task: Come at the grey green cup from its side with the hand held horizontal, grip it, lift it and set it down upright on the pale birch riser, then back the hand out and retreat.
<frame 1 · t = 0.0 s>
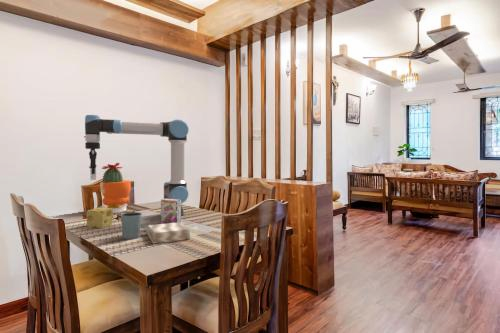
hand: (93, 178, 180), 28 cm above the table, tool pointing down, fingers open, 13 cm apart
candy bar box: (171, 227, 182), on the table
potted cactus: (116, 210, 228), on the table
grey green cup: (131, 237, 161), on the table
cheese: (99, 226, 183), on the table
riser: (168, 236, 162), on the table
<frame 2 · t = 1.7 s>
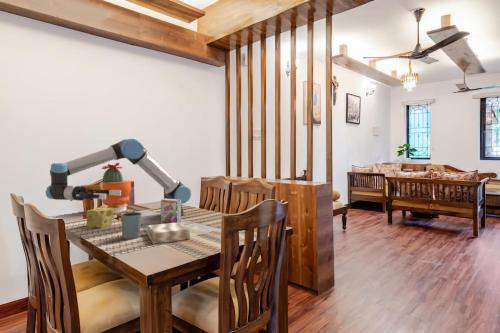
hand: (113, 194, 161), 22 cm above the table, tool horizontal, fingers open, 13 cm apart
nothing on the table moved.
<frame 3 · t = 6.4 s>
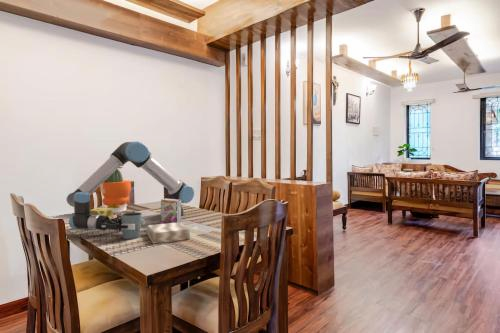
hand: (139, 224, 160), 7 cm above the table, tool horizontal, fingers closed on grey green cup, 9 cm apart
grey green cup: (131, 236, 161), on the table, touching gripper
everything else where it was.
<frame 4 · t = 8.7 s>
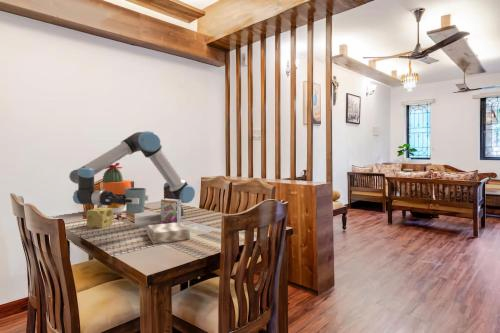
hand: (143, 199, 159), 20 cm above the table, tool horizontal, fingers closed on grey green cup, 9 cm apart
grey green cup: (135, 212, 160), point 13 cm above the table, touching gripper
everything else where it was.
when the fingers open (13 cm above the table, at t = 11.5 s): grey green cup drops 1 cm, resting on riser.
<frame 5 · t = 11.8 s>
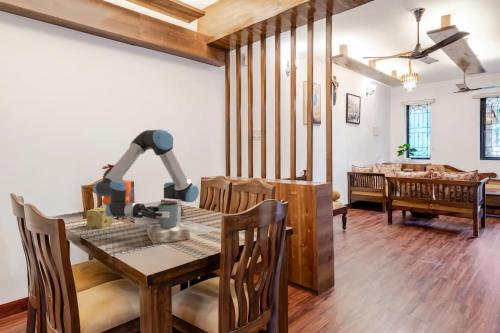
hand: (174, 212, 161), 13 cm above the table, tool horizontal, fingers open, 13 cm apart
grey green cup: (168, 226, 164), point 5 cm above the table, touching gripper, riser
everything else where it was.
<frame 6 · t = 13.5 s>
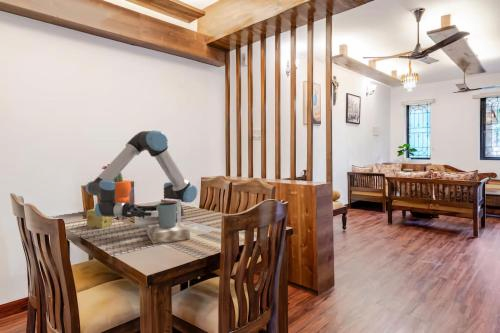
hand: (163, 211, 161), 13 cm above the table, tool horizontal, fingers open, 13 cm apart
grey green cup: (167, 226, 164), point 5 cm above the table, touching riser
everything else where it was.
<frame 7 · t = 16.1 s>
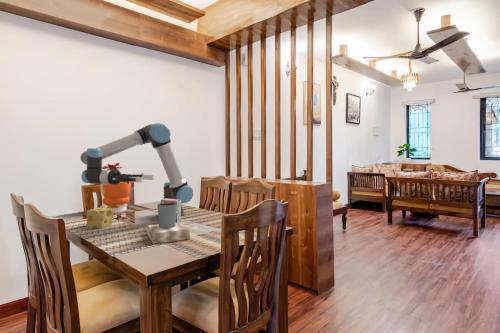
hand: (148, 178, 167), 30 cm above the table, tool horizontal, fingers open, 13 cm apart
nothing on the table moved.
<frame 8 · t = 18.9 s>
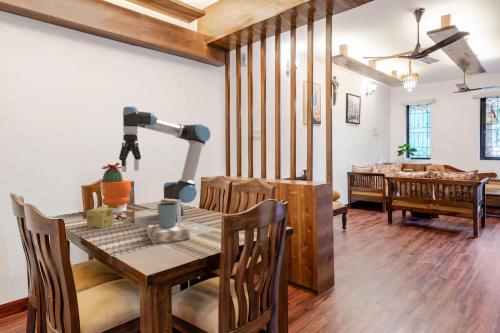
hand: (130, 171, 178), 33 cm above the table, tool pointing down, fingers open, 13 cm apart
nothing on the table moved.
at the end: grey green cup inside the target area on the riser (2.3 cm from its centre), point 4.8 cm above the riser's base; grey green cup tilted 0°; the gripper is holding nothing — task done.
